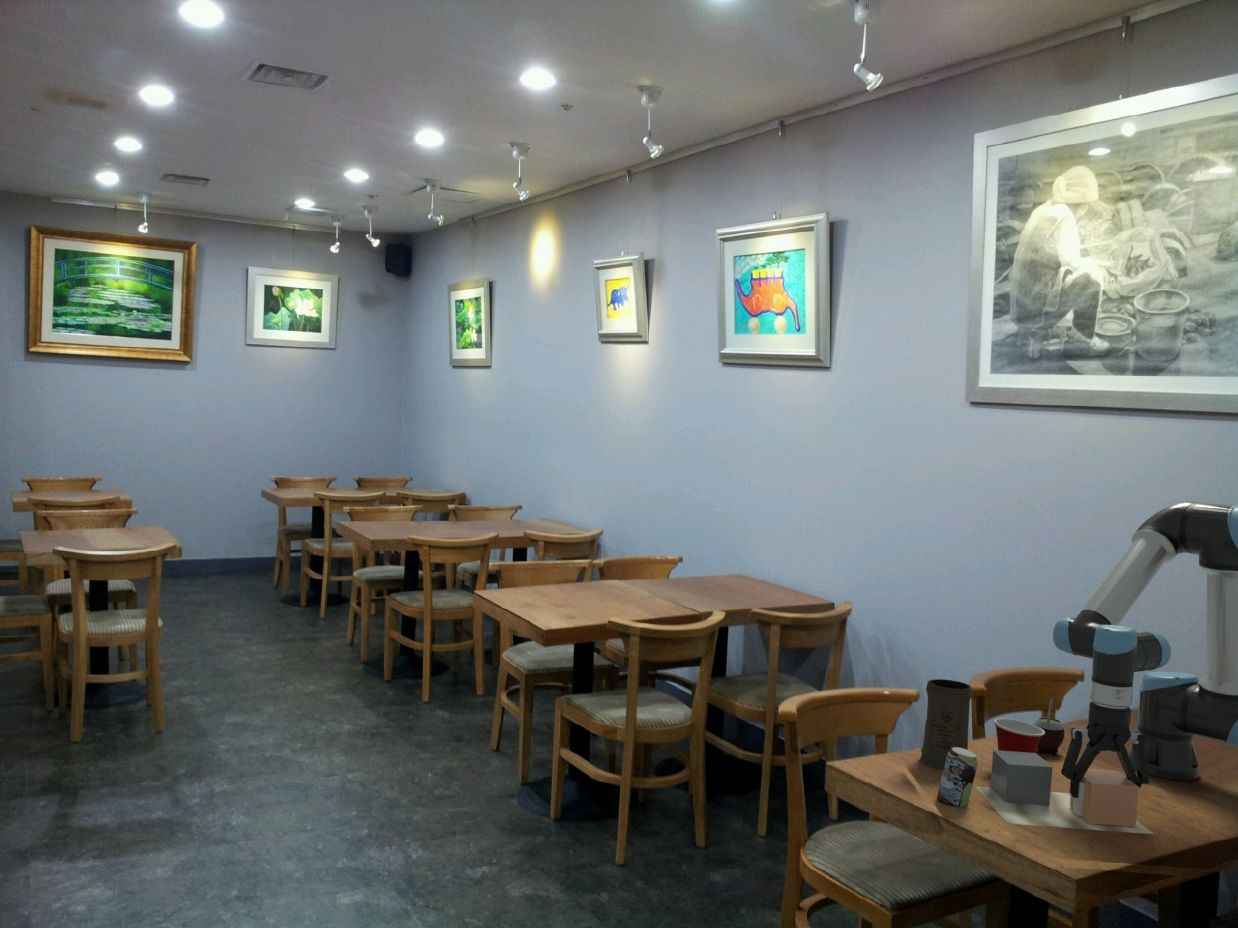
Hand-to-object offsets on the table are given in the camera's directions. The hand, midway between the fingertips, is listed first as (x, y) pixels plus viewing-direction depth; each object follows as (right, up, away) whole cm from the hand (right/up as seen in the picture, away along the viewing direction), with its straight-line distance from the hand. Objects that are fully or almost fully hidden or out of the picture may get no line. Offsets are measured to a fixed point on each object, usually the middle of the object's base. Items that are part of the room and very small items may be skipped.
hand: (1101, 814), depth 200 cm
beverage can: (-28, 0, +4) cm, 28 cm away
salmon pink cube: (0, 0, 0) cm, 0 cm away
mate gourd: (+8, -1, +45) cm, 45 cm away
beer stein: (-22, +1, +31) cm, 38 cm away
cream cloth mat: (-7, -1, +3) cm, 8 cm away
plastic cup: (-7, -1, +25) cm, 26 cm away
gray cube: (-13, +1, +9) cm, 16 cm away
